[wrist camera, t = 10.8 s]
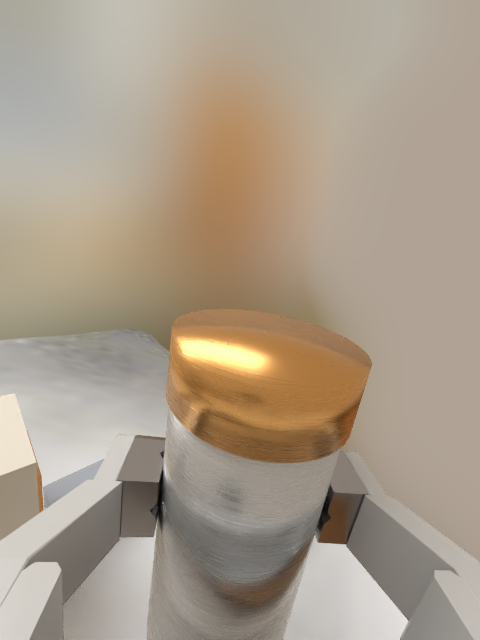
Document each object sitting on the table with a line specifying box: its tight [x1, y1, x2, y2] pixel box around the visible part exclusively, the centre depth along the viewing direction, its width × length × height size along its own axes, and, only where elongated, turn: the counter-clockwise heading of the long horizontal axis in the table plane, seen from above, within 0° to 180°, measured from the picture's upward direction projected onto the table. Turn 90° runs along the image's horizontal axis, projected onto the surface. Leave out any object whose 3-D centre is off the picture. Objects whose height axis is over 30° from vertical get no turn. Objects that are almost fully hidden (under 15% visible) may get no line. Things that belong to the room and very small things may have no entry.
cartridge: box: [147, 309, 372, 640], centre depth 8 cm, size 5×5×10 cm
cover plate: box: [43, 459, 104, 509], centre depth 24 cm, size 6×6×2 cm
